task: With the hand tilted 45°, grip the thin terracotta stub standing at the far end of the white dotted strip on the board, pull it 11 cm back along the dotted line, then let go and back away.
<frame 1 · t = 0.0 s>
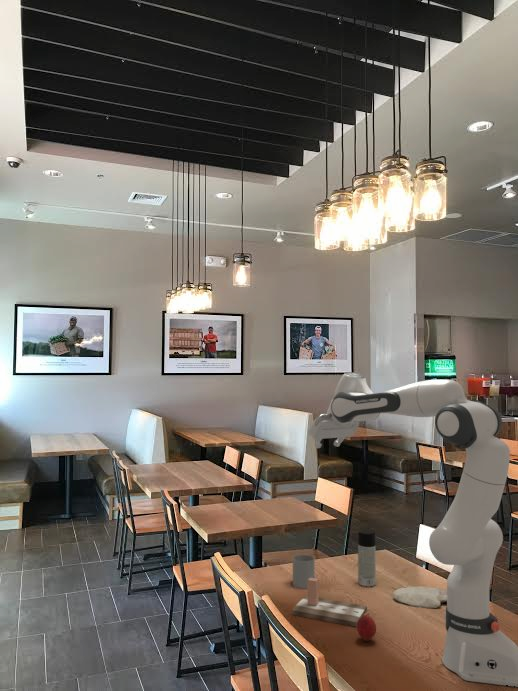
hand: (326, 446, 200), 54 cm above the table, tool tilted 30°, fingers open, 8 cm apart
spray can: (367, 584, 212), on the table
fragment: (422, 602, 196), on the table
cup: (303, 585, 211), on the table
board with dashed strip: (330, 612, 185), on the table
stub: (313, 591, 188), point 6 cm above the table, slide at 0.0 cm
onion: (366, 641, 165), on the table
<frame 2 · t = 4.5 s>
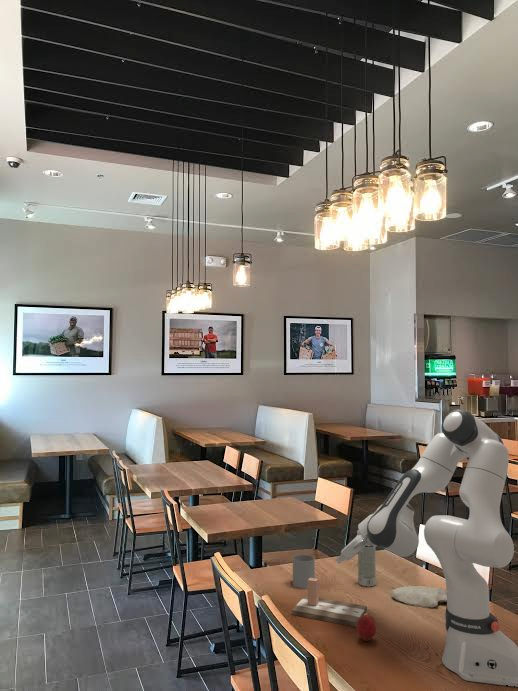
hand: (341, 557, 186), 18 cm above the table, tool tilted 45°, fingers open, 8 cm apart
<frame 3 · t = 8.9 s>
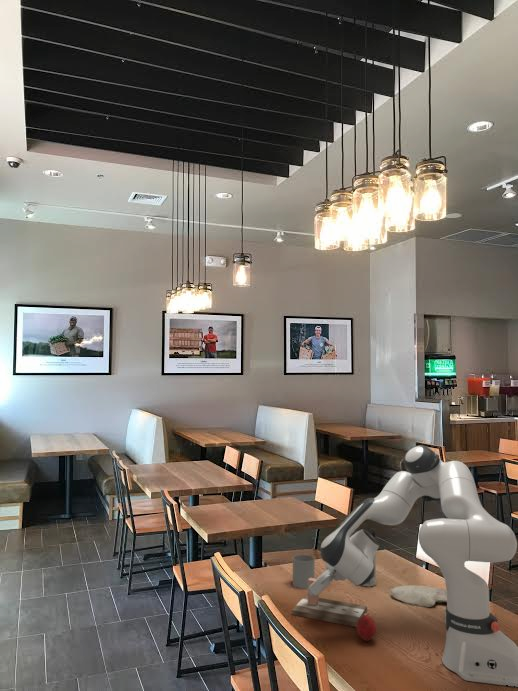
hand: (311, 591, 188), 6 cm above the table, tool tilted 45°, fingers closed on stub, 2 cm apart
stub: (313, 591, 188), point 6 cm above the table, slide at 0.0 cm, touching gripper
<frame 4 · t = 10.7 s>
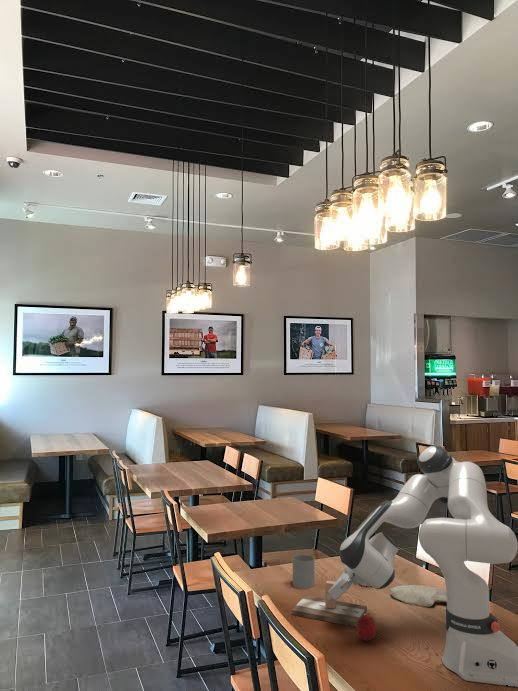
hand: (329, 595, 186), 6 cm above the table, tool tilted 45°, fingers closed on stub, 2 cm apart
stub: (330, 594, 185), point 6 cm above the table, slide at 6.3 cm, touching gripper
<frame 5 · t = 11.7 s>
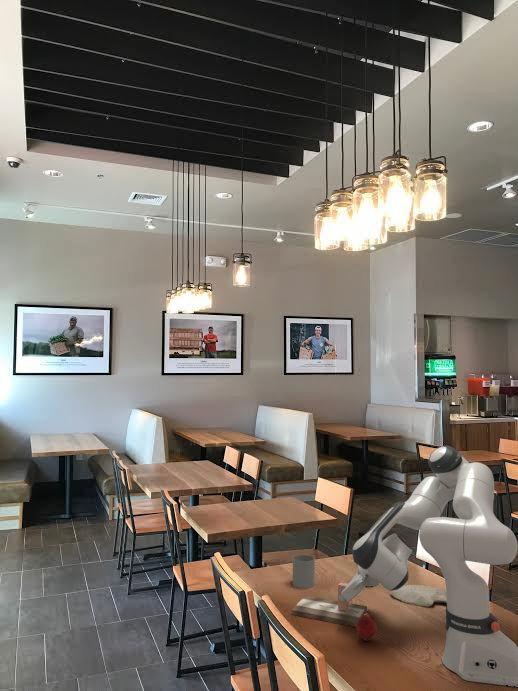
hand: (342, 597, 184), 6 cm above the table, tool tilted 45°, fingers closed on stub, 2 cm apart
stub: (343, 596, 184), point 6 cm above the table, slide at 10.7 cm, touching gripper
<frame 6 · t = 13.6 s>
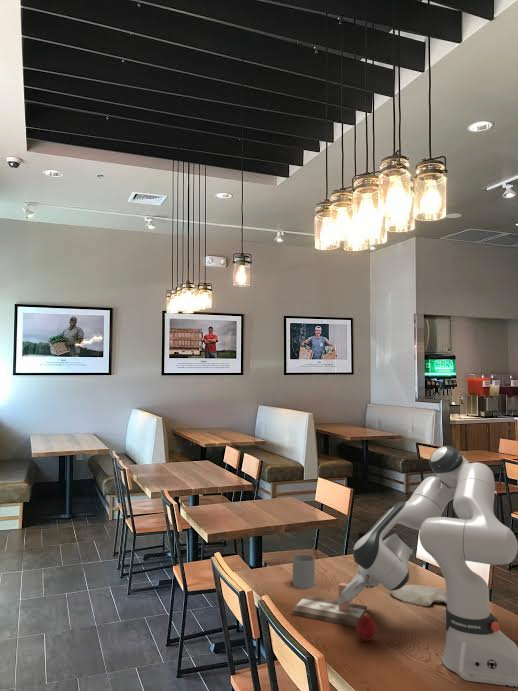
hand: (342, 597, 184), 6 cm above the table, tool tilted 45°, fingers open, 8 cm apart
stub: (344, 596, 183), point 6 cm above the table, slide at 10.9 cm
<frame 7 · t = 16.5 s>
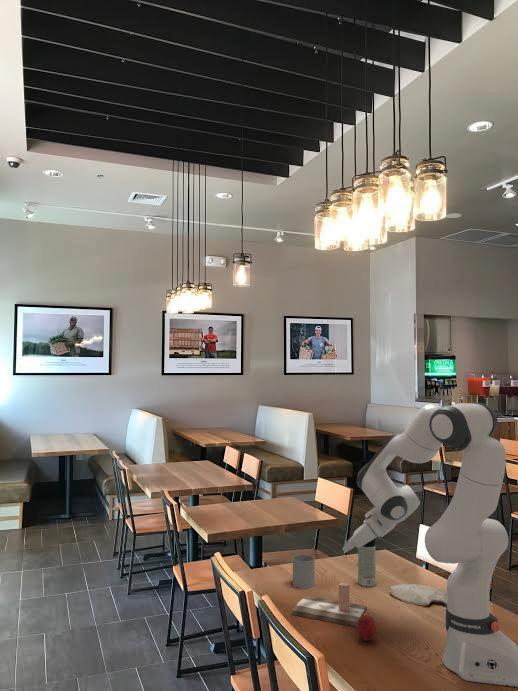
hand: (344, 548, 184), 22 cm above the table, tool tilted 50°, fingers open, 8 cm apart
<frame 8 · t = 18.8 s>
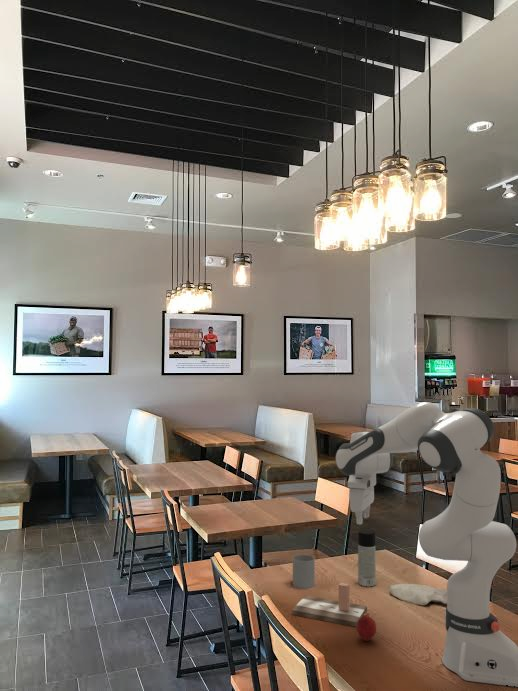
hand: (362, 520, 185), 31 cm above the table, tool pointing down, fingers open, 8 cm apart
at the end: stub slide at 10.9 cm; the gripper is holding nothing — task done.
